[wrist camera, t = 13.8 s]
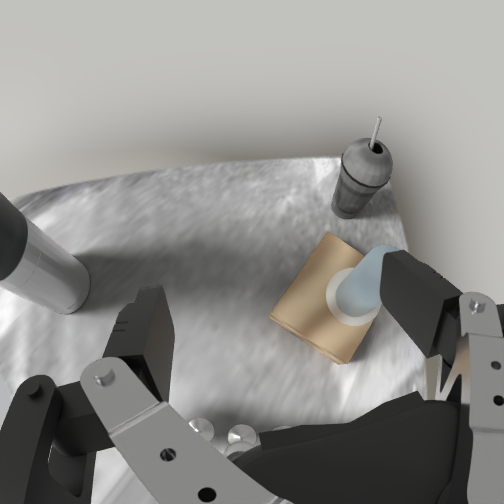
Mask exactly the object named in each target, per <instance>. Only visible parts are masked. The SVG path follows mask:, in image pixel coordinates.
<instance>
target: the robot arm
mask: <svg viewBox="0 0 504 504" xmlns="http://www.w3.org/2000/svg"><path fill="white" fill-rule="evenodd" d="M0 287H1V288H4V289H6V290H8V291H10V292H12V293H14V294H16V295H18V296H21V297H23V298H25V299H27V300H29V301H32V302H34V303H36V304H38V305H41V306H43V307H45V308H48V309H50V310H53V311H55V312H57V313H60V314H70V313H72V312H74V311H76V310H77V309H79V308H80V307H81V306H82V304H83V303H84V301H85V300H86V298H87V295H88V293H89V288H90V278H89V274H88V271H87V269H86V268H85V266H84V265H83V264H82V263H81V262H80V261H78V260H77V259H76V258H74V257H73V256H72V255H71V254H70V253H68V252H67V251H66V250H65V249H63V248H62V247H61V246H60V245H58V244H57V243H56V242H55V241H53V240H52V239H51V238H50V237H49V236H47V235H46V234H45V233H44V232H43V231H42V230H40V229H39V228H38V227H37V226H36V225H35V224H33V223H32V222H31V221H30V220H29V219H28V218H26V217H25V216H24V215H23V214H22V213H21V212H20V211H19V210H18V209H17V208H15V207H14V206H13V205H12V204H11V203H10V201H9V200H8V199H7V198H6V197H5V196H4V195H3V194H1V192H0ZM379 293H380V299H381V302H382V304H383V305H384V307H385V308H386V309H387V310H388V311H389V313H390V314H391V315H392V316H393V317H394V318H395V320H396V321H397V322H398V323H399V324H400V326H401V327H402V328H403V329H404V330H405V332H406V333H407V334H408V335H409V337H410V338H411V339H412V340H413V341H414V343H415V344H416V345H417V346H418V348H419V349H420V350H421V351H422V353H423V354H424V355H425V356H426V358H430V357H433V356H435V355H438V354H440V355H441V359H440V362H439V369H438V380H437V389H436V397H435V400H423V398H422V397H421V395H420V394H419V392H418V391H415V392H413V393H410V394H407V395H405V396H402V397H399V398H396V399H393V400H391V401H388V402H385V403H383V404H381V405H380V406H378V407H376V408H375V409H373V410H371V411H370V412H368V413H366V414H364V415H363V416H361V417H359V418H357V419H356V420H354V421H352V422H350V423H345V424H326V425H300V426H296V427H291V428H286V429H280V430H275V431H269V432H263V433H259V437H260V443H261V445H258V446H256V447H254V448H251V449H249V450H247V451H245V452H243V453H241V454H240V455H238V456H237V457H235V458H234V459H232V460H231V461H230V460H228V459H227V458H226V457H225V456H224V455H222V454H221V453H220V452H219V451H218V450H217V449H216V448H214V447H213V446H212V445H211V444H210V443H209V442H208V441H207V440H206V439H204V438H203V437H202V436H201V435H200V434H199V433H198V432H197V431H196V430H195V429H194V428H193V427H192V426H191V425H190V424H189V423H187V422H186V421H185V420H184V419H183V418H182V417H181V416H180V415H179V414H178V413H177V412H176V411H175V410H174V409H173V408H172V407H171V406H170V405H169V404H168V402H169V391H170V380H171V369H172V359H173V350H174V341H175V334H174V326H173V322H172V318H171V315H170V311H169V308H168V304H167V300H166V296H165V293H164V289H163V287H162V286H153V287H145V288H140V290H139V293H138V295H137V298H136V301H135V303H130V304H127V305H126V306H125V307H124V308H123V309H122V310H121V311H120V312H119V315H118V317H117V320H116V322H115V323H116V324H115V325H114V327H113V330H112V331H113V332H112V333H111V335H110V338H109V340H108V343H107V346H106V349H105V351H104V354H103V357H102V358H101V359H98V360H96V361H94V362H92V363H91V364H89V365H88V366H87V367H86V368H85V369H84V371H83V372H82V374H81V377H80V381H78V382H74V383H70V384H67V385H63V386H59V387H57V386H56V384H55V383H54V381H53V380H52V379H51V378H50V377H49V376H46V375H36V376H33V377H30V378H28V379H27V380H25V381H24V382H23V383H22V384H21V385H20V386H19V388H18V389H17V391H16V393H15V396H14V398H13V400H12V403H11V405H10V407H9V410H8V412H7V415H6V418H5V420H4V422H3V425H2V428H1V430H0V504H91V496H92V485H93V476H94V467H95V460H96V452H97V451H100V450H104V449H108V448H112V447H117V449H118V450H119V452H120V453H121V455H122V456H123V458H124V459H125V460H126V462H127V463H128V465H129V466H130V467H131V469H132V470H133V472H134V473H135V474H136V476H137V477H138V478H139V480H140V481H141V482H142V483H143V485H144V486H145V487H146V488H147V490H148V491H149V492H150V493H151V495H152V496H153V497H154V498H155V500H156V501H157V502H158V503H159V504H504V304H501V305H496V304H495V302H494V301H493V300H492V299H491V298H489V297H488V296H486V295H484V294H481V293H477V292H467V293H464V294H463V293H462V292H461V291H460V290H459V289H457V288H456V287H455V286H454V285H453V284H451V283H450V282H449V281H447V280H446V279H445V278H443V276H441V275H440V274H439V273H436V271H435V270H434V269H432V268H431V267H430V266H429V265H427V264H425V263H422V262H420V261H418V260H417V259H415V258H414V257H413V256H412V255H410V254H409V253H408V252H406V251H405V250H399V251H393V252H387V253H385V254H384V256H383V261H382V271H381V280H380V290H379ZM51 445H52V448H51ZM50 449H51V452H50ZM49 454H50V457H49ZM48 458H49V461H48Z"/></svg>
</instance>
